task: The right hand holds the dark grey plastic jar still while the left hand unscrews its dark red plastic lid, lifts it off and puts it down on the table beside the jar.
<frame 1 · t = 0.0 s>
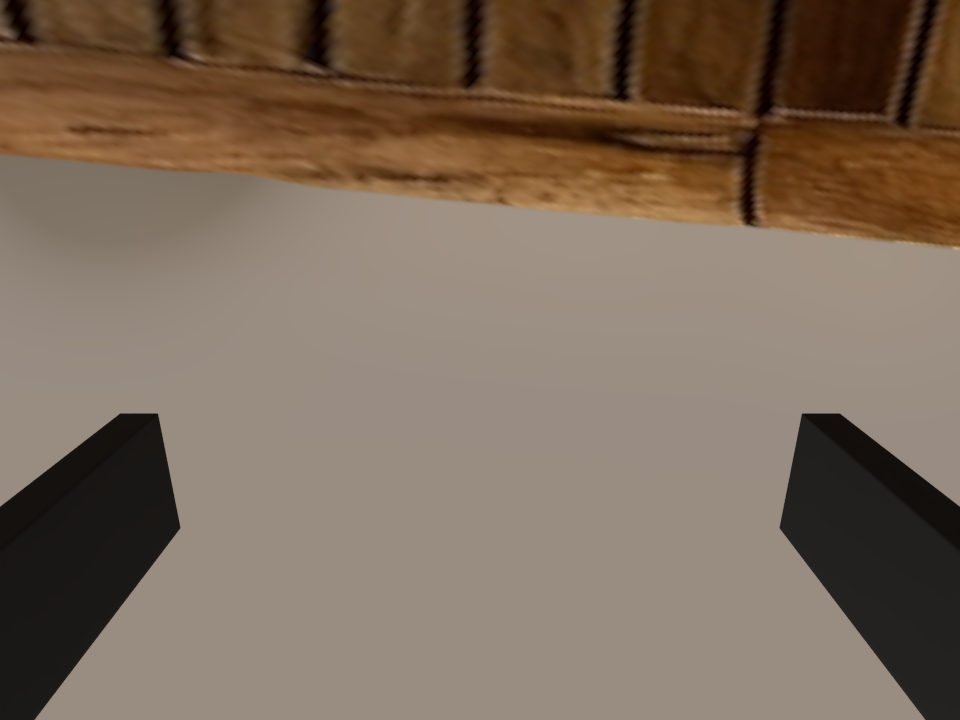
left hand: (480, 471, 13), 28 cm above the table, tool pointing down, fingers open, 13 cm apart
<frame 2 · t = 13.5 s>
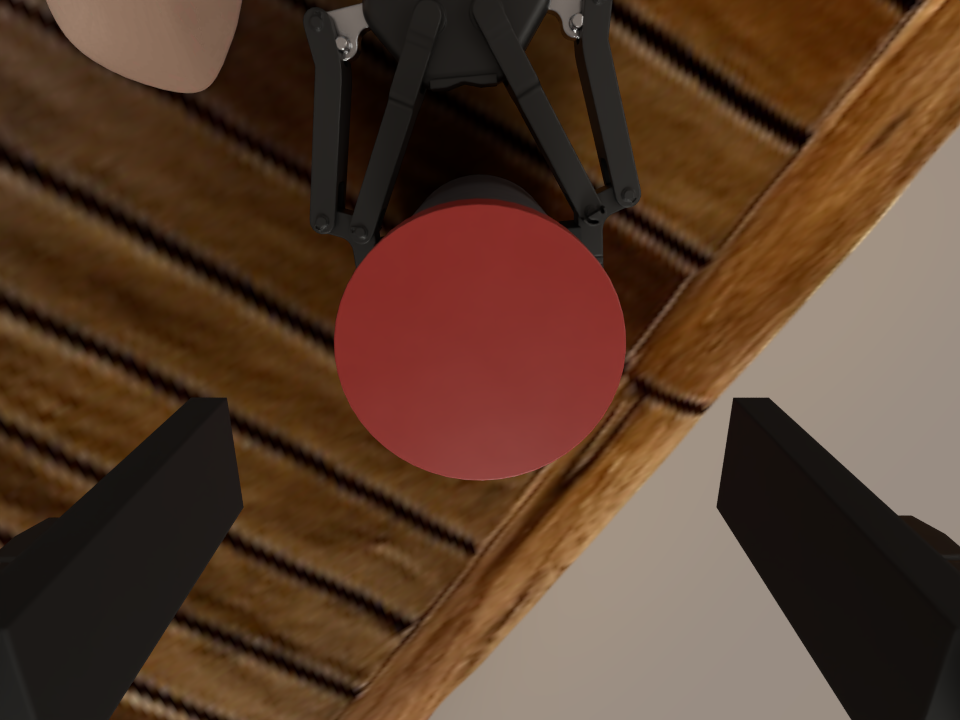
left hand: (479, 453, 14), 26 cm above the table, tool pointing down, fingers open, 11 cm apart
right hand: (487, 351, 34), fingers closed on jar, 9 cm apart
lid: (479, 350, 20), point 19 cm above the table, screwed on, not yet turned
jar: (479, 248, 38), on the table, touching right hand
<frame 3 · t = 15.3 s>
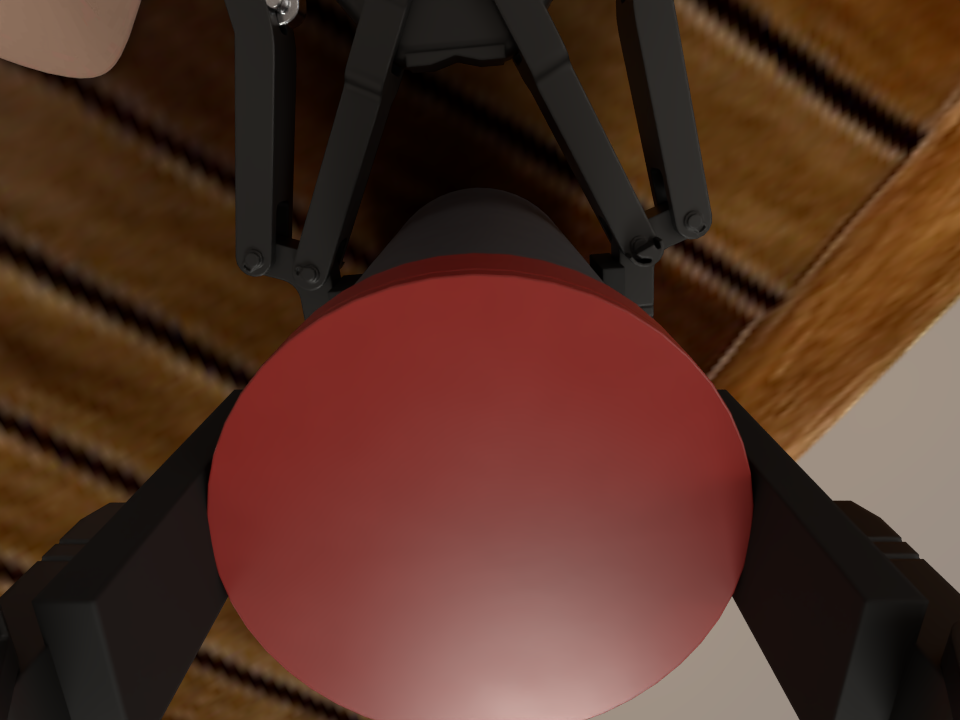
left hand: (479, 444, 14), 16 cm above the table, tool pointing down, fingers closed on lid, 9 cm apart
lid: (480, 529, 11), point 19 cm above the table, screwed on, not yet turned, touching left hand
jar: (479, 284, 29), on the table, touching right hand
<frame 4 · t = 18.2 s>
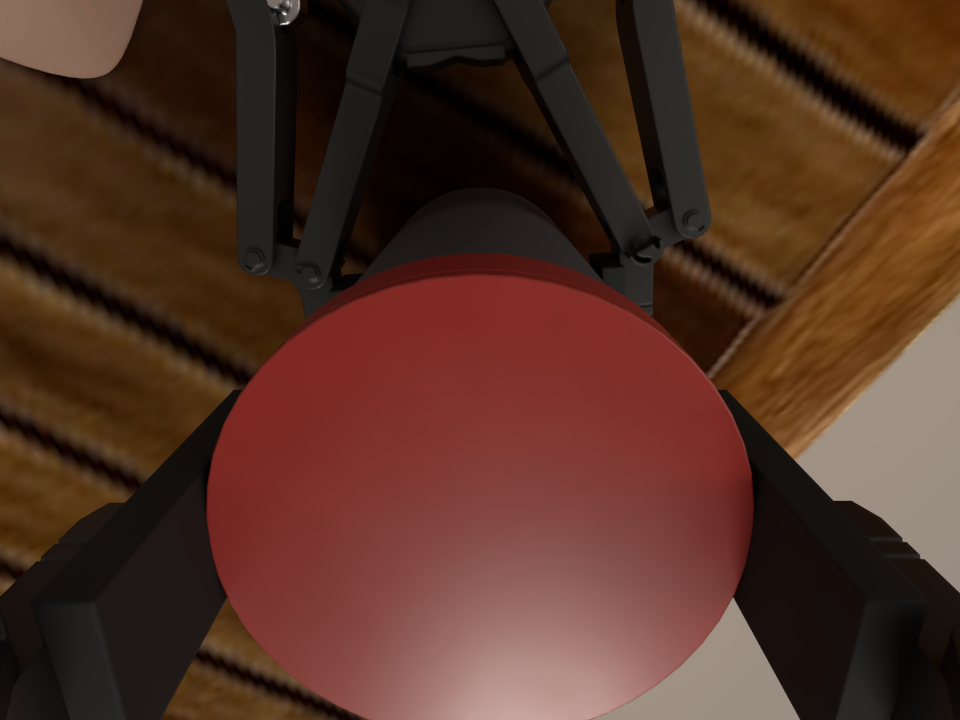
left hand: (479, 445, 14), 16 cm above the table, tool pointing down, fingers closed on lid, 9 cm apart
lid: (480, 530, 11), point 19 cm above the table, turned 82° so far, risen 0.1 cm, still on its thread, touching left hand
jar: (480, 284, 29), on the table, touching right hand
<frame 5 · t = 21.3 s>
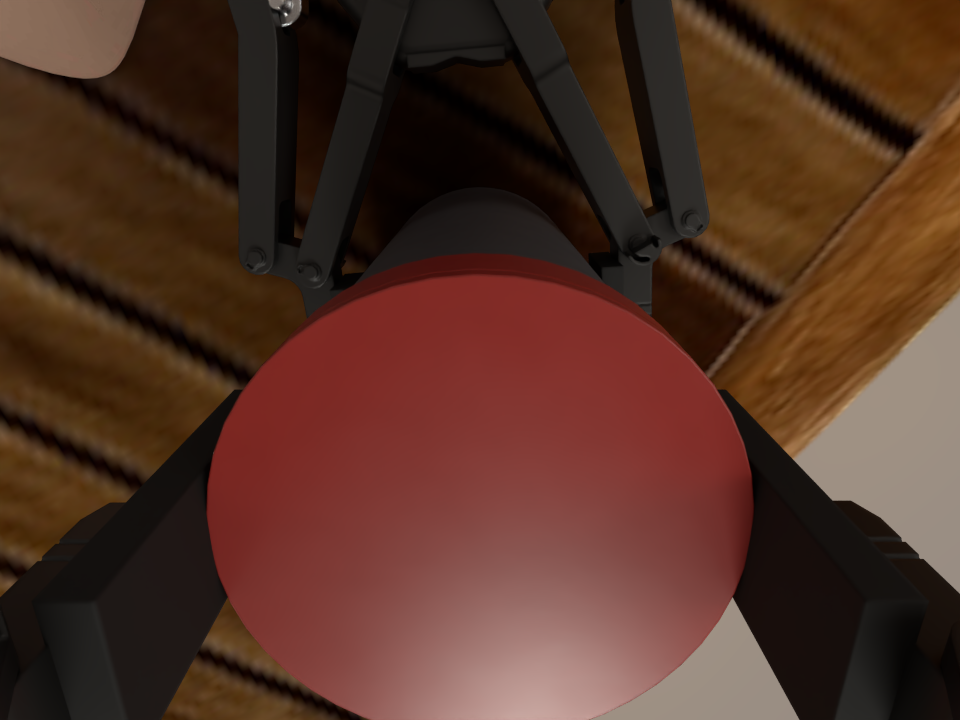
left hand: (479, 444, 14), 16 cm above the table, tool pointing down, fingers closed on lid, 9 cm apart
lid: (480, 530, 11), point 19 cm above the table, turned 165° so far, risen 0.3 cm, still on its thread, touching left hand
jar: (479, 283, 29), on the table, touching right hand
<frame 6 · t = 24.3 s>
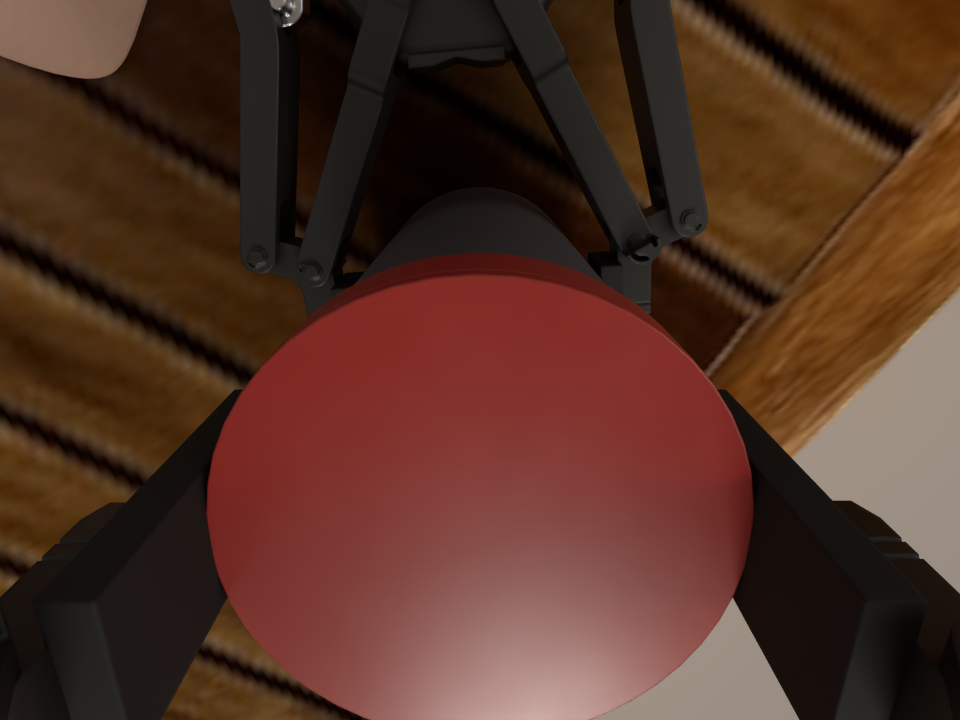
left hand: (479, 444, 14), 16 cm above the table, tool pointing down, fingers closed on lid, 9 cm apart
lid: (480, 530, 11), point 19 cm above the table, turned 247° so far, risen 0.4 cm, still on its thread, touching left hand
jar: (479, 282, 29), on the table, touching right hand
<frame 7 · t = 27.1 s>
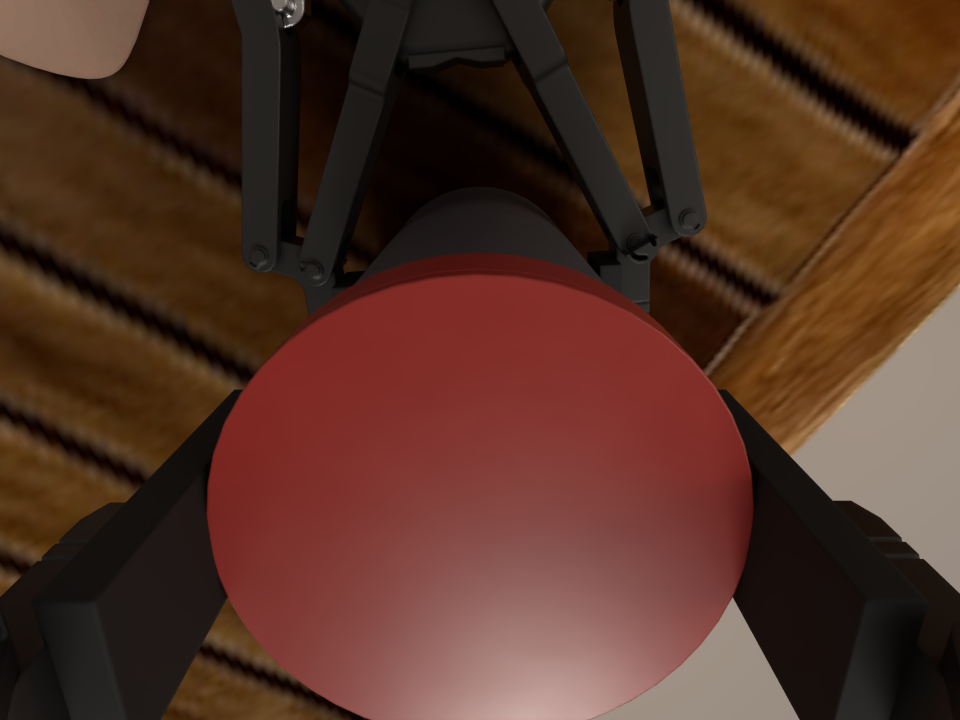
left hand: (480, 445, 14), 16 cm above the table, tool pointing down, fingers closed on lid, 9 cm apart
lid: (480, 529, 11), point 19 cm above the table, turned 330° so far, risen 0.6 cm, still on its thread, touching left hand
jar: (479, 282, 29), on the table, touching right hand
when the left hand's fingers open (0 cm above the table, at t = 33.9 s): lid drops 2 cm, point 1 cm above the table.
when the right hand's fingers open (6 cm above the table, at t = 34.9 s): jar stays where it is, on the table.
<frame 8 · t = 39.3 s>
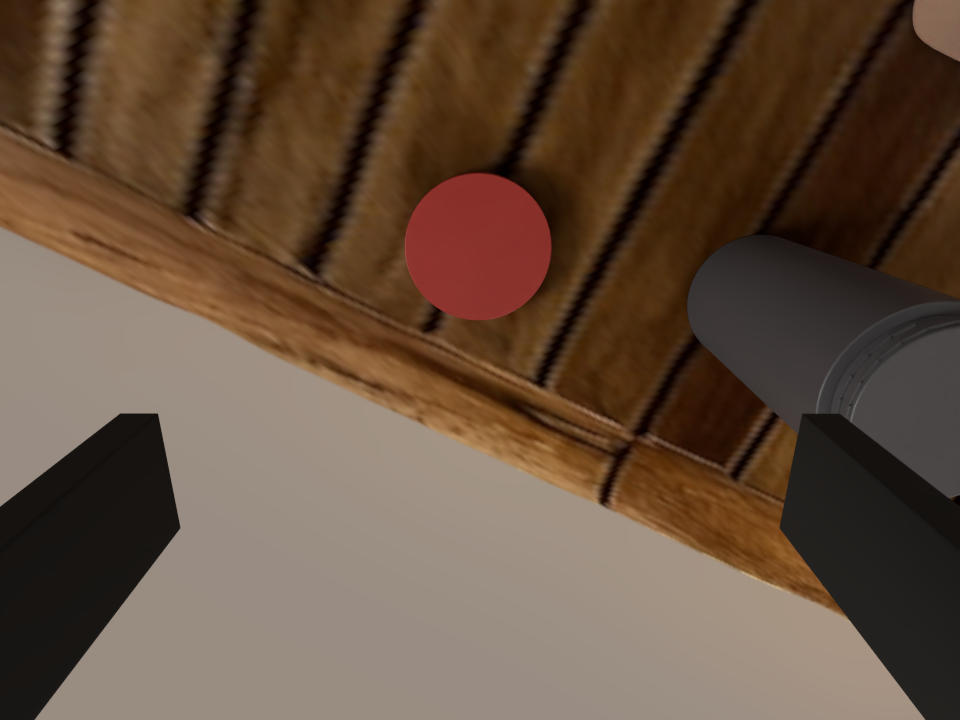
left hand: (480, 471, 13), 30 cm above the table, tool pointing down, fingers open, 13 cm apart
lid: (478, 248, 39), point 1 cm above the table, off its thread
jar: (751, 299, 42), on the table
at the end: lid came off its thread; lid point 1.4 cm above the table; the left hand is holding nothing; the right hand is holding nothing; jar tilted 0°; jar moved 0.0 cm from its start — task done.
